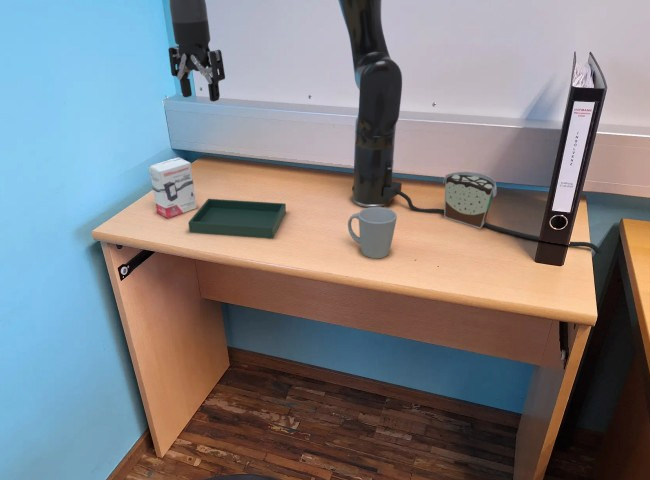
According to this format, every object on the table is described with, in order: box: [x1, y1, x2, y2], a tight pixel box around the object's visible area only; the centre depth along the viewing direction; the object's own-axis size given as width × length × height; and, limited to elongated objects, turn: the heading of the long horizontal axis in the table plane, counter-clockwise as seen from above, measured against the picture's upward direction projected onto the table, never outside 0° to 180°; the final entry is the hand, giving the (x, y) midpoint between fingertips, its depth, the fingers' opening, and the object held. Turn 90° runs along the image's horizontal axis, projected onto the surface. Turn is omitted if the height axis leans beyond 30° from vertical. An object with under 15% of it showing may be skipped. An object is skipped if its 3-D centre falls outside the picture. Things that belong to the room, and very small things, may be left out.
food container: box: [442, 171, 498, 230], centre depth 122 cm, size 12×6×10 cm, turn 47°
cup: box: [347, 206, 398, 259], centre depth 111 cm, size 8×10×8 cm
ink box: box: [148, 157, 198, 219], centre depth 128 cm, size 8×5×12 cm, turn 134°
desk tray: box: [188, 198, 287, 239], centre depth 125 cm, size 19×13×2 cm
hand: (200, 98), depth 123 cm, fingers open, 8 cm apart
